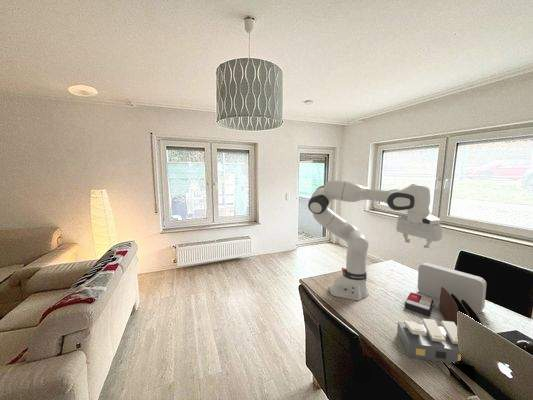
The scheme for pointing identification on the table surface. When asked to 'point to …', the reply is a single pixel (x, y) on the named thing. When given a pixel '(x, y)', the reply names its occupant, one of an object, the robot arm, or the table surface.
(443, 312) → the letter holder
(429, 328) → the rocker
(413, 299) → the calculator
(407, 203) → the robot arm
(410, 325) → the rocker
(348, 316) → the table surface
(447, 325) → the rocker
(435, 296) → the rounded white slab
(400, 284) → the table surface
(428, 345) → the switch console
